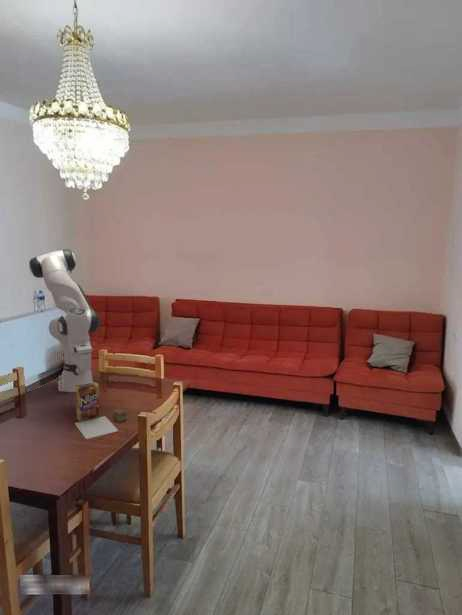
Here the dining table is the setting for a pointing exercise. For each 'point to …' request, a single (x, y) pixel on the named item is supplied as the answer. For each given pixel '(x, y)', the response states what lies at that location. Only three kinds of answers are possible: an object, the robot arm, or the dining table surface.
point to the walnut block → (119, 415)
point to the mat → (96, 427)
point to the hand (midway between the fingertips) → (81, 375)
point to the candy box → (87, 401)
